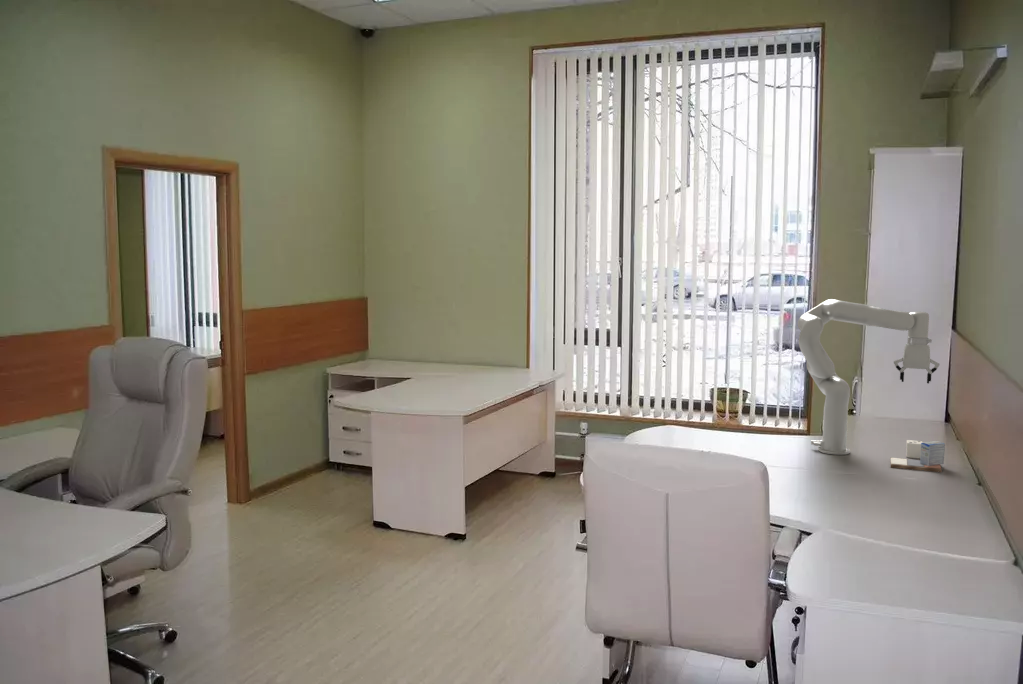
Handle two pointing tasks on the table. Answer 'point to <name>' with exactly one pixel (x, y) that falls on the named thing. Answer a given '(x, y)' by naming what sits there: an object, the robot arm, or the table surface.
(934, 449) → the medicine box
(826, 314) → the robot arm
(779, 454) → the table surface
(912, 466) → the striped colour swatch board
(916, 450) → the die
